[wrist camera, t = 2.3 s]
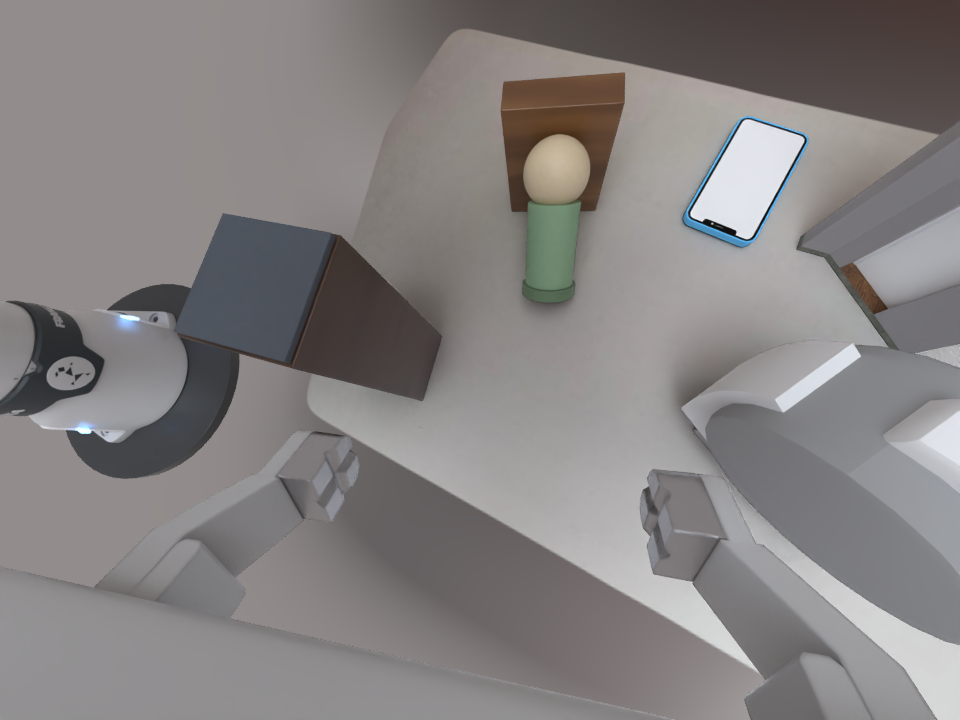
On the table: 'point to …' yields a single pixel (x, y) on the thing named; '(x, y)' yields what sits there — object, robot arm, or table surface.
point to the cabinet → (903, 248)
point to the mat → (256, 286)
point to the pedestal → (361, 330)
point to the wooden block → (561, 125)
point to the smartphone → (745, 181)
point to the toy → (553, 216)
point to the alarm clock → (851, 466)
